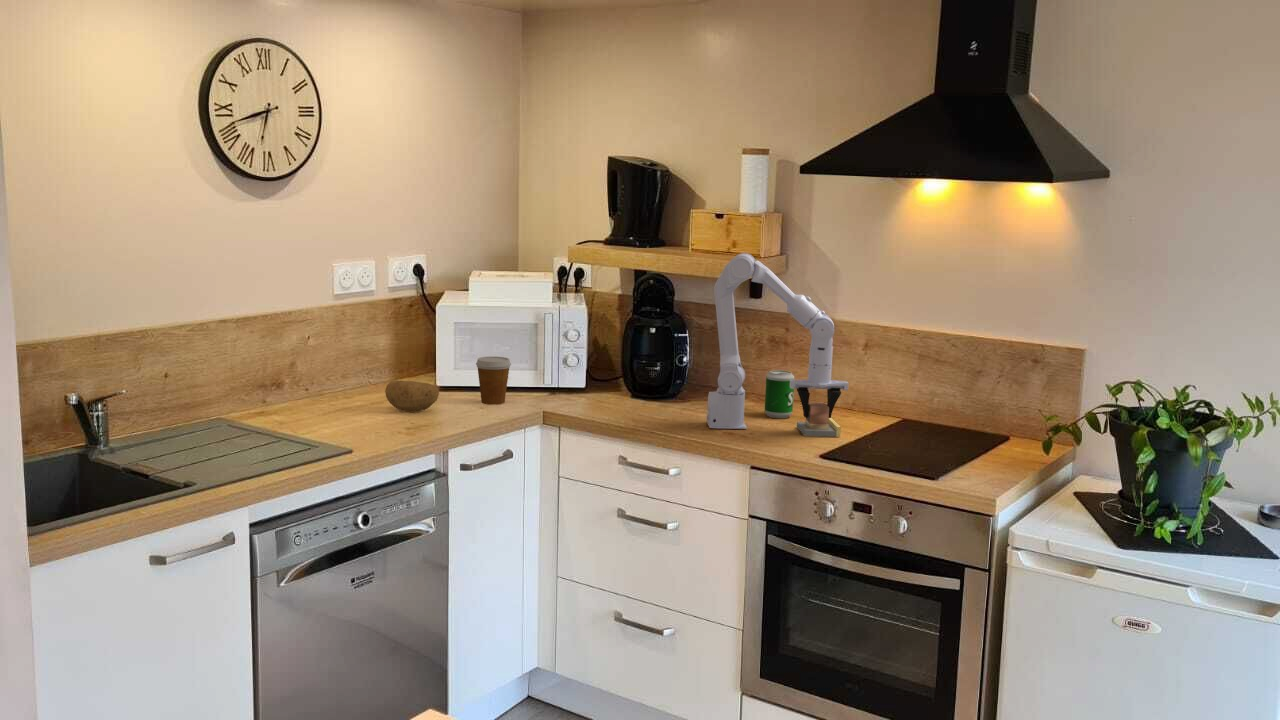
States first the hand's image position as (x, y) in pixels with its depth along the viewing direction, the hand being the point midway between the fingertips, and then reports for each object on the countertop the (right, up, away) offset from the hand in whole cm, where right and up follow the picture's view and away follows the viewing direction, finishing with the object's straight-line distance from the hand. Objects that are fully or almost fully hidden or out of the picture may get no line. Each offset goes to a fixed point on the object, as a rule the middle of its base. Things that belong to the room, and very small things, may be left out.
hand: (817, 417), depth 284 cm
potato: (-104, +1, +9) cm, 105 cm away
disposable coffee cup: (-85, +3, +23) cm, 88 cm away
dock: (0, -4, +1) cm, 4 cm away
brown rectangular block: (0, -2, 0) cm, 2 cm away
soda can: (-8, -1, +18) cm, 20 cm away
